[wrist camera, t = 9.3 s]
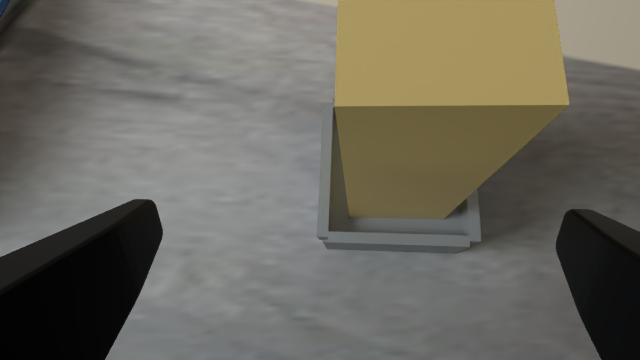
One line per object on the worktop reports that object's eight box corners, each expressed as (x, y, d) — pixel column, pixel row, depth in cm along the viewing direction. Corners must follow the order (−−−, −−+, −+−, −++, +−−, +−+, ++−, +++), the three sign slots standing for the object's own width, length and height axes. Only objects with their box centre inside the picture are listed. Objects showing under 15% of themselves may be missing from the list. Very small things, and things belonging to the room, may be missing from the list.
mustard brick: (442, 219, 19) (569, 104, 8) (349, 217, 19) (334, 106, 8) (439, 133, 20) (542, -79, 9) (351, 133, 21) (340, -69, 9)
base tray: (458, 256, 21) (481, 247, 17) (324, 251, 22) (316, 242, 18) (452, 131, 23) (471, 97, 19) (329, 131, 24) (323, 98, 20)
